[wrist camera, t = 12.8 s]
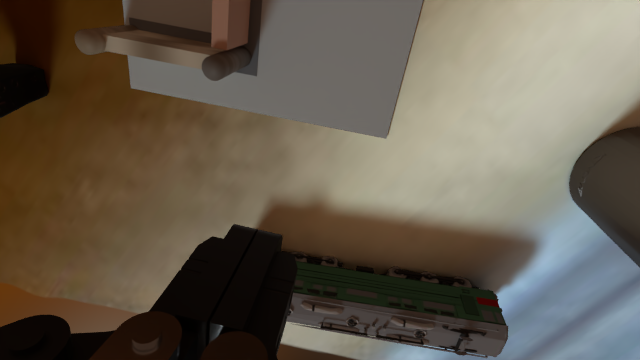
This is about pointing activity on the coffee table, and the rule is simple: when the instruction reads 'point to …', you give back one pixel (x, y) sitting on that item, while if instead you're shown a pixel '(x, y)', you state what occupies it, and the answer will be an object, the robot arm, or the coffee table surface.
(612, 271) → the coffee table surface
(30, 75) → the black animal figurine
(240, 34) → the panel
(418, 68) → the coffee table surface
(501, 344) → the toy train
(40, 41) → the coffee table surface
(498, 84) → the coffee table surface
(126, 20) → the card
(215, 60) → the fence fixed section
